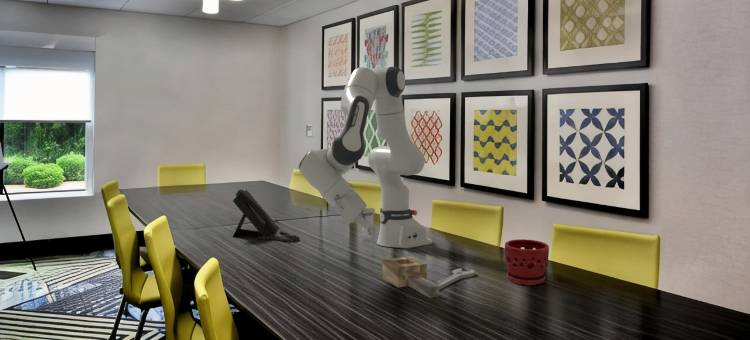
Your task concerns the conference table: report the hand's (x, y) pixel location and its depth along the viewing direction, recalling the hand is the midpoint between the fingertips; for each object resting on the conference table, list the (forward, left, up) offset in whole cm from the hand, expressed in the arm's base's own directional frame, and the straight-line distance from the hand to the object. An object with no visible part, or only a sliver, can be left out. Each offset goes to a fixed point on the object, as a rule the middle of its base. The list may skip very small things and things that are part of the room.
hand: (369, 225), depth 169 cm
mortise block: (-7, +16, -16) cm, 24 cm away
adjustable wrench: (-20, +15, -17) cm, 30 cm away
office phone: (+12, -73, -17) cm, 76 cm away
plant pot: (-41, +26, -16) cm, 51 cm away
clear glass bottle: (0, 0, -5) cm, 5 cm away
